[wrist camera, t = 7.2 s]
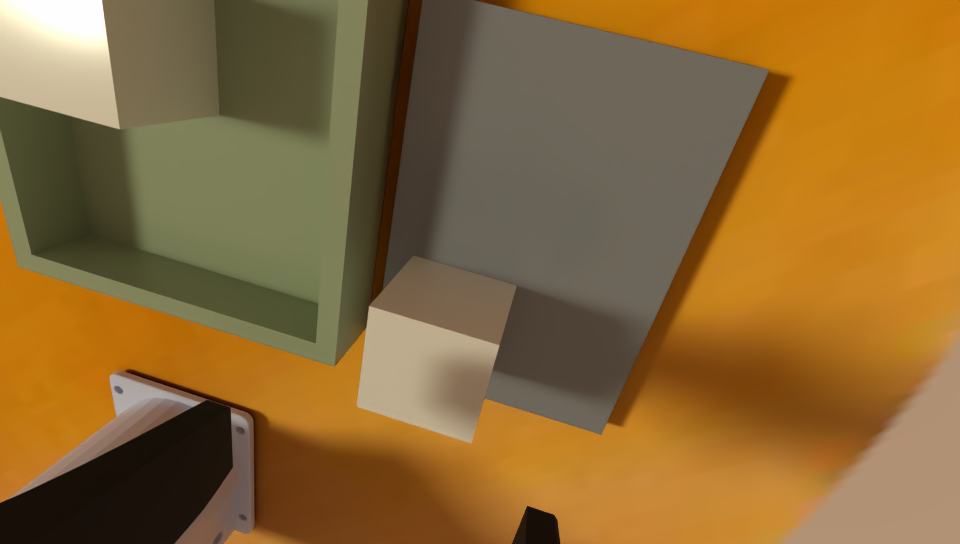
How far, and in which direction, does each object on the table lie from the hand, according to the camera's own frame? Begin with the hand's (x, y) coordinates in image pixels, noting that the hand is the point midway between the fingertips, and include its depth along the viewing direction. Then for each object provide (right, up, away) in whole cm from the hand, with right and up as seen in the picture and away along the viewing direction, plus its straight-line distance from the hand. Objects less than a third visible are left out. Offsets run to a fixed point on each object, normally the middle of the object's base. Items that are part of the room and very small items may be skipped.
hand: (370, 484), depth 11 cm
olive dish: (-7, +10, +7) cm, 14 cm away
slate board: (+4, +6, +6) cm, 10 cm away
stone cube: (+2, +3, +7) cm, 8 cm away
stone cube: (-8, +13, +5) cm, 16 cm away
